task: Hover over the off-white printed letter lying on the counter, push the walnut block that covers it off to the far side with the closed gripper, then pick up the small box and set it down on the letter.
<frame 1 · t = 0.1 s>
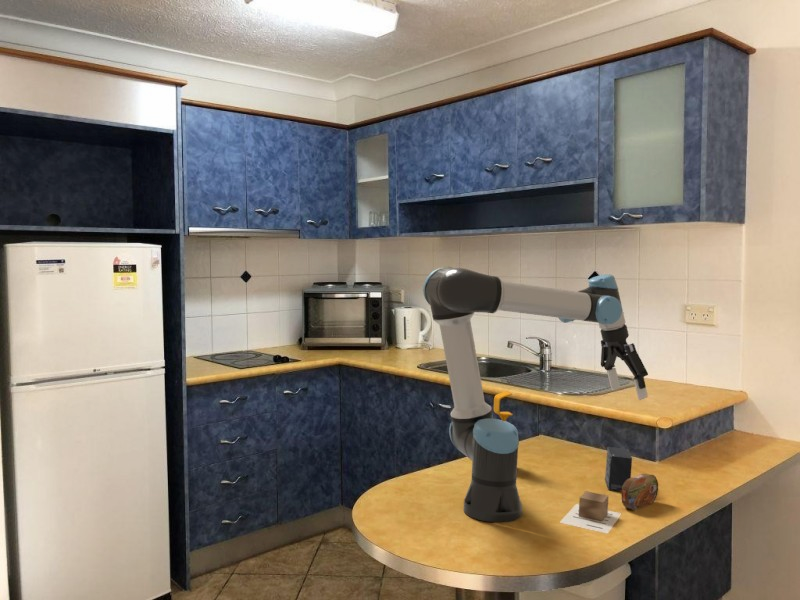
hand: (629, 393, 198), 28 cm above the table, tool tilted 20°, fingers open, 13 cm apart
walnut block: (593, 515, 174), resting on letter
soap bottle: (501, 468, 212), on the table
small box: (617, 486, 199), on the table
letter: (591, 518, 172), on the table
tin: (638, 506, 182), on the table
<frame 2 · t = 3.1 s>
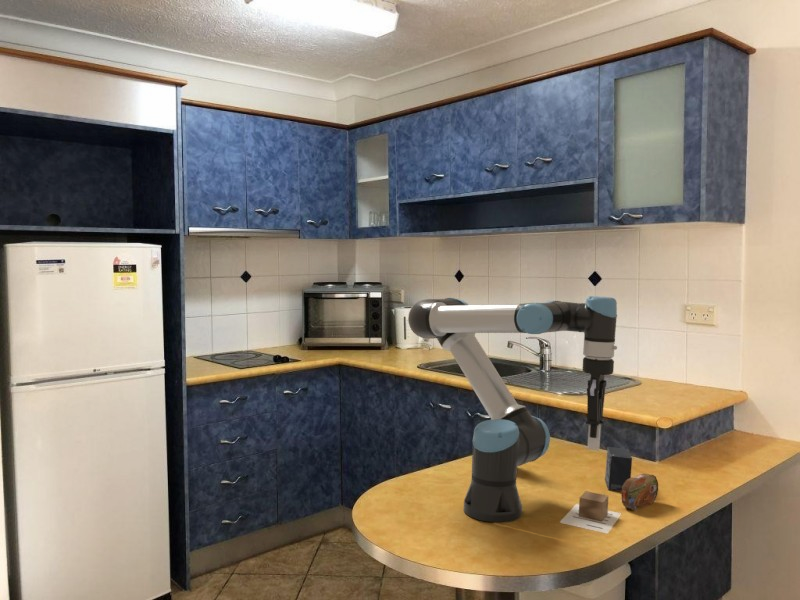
hand: (593, 449, 169), 19 cm above the table, tool pointing down, fingers closed
nothing on the table moved.
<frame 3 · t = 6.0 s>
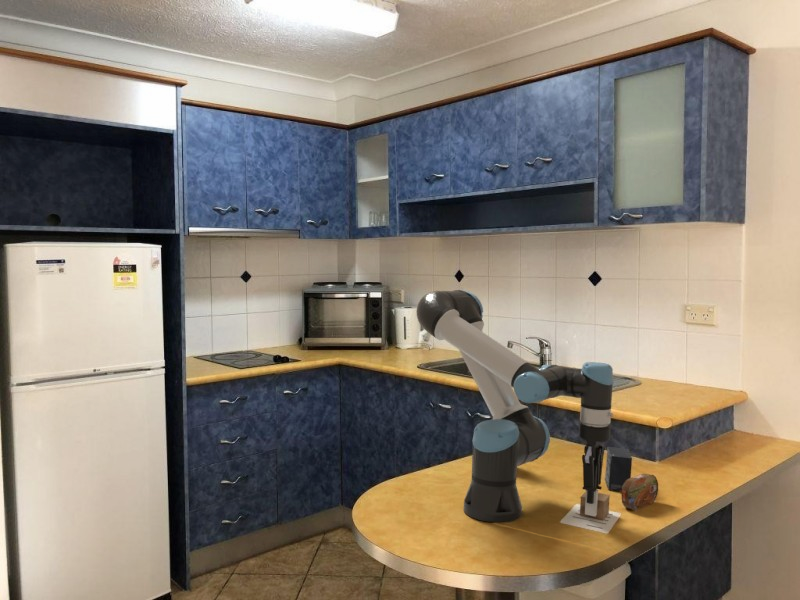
hand: (590, 514, 170), 2 cm above the table, tool pointing down, fingers closed
walnut block: (594, 514, 174), resting on letter, touching gripper
everything else where it was.
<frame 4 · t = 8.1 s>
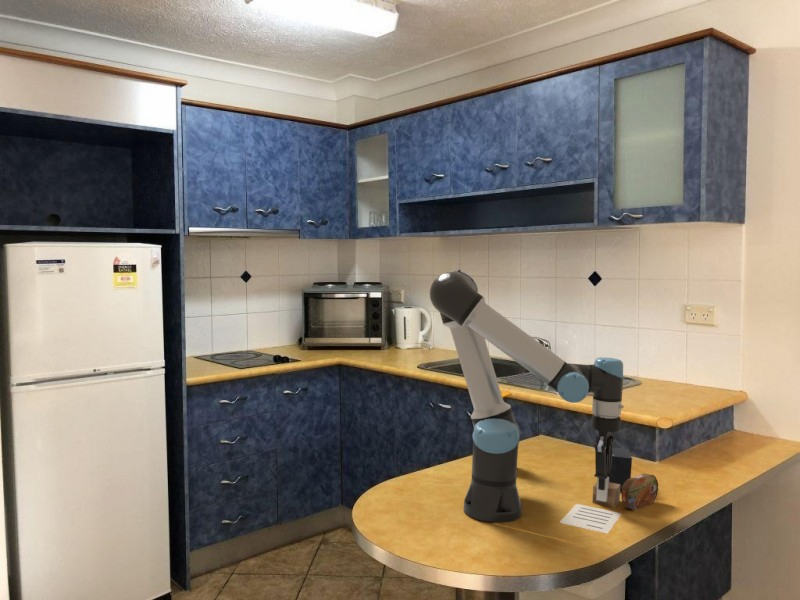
hand: (601, 500, 181), 2 cm above the table, tool pointing down, fingers closed
walnut block: (606, 502, 184), on the table, touching gripper
everything else where it was.
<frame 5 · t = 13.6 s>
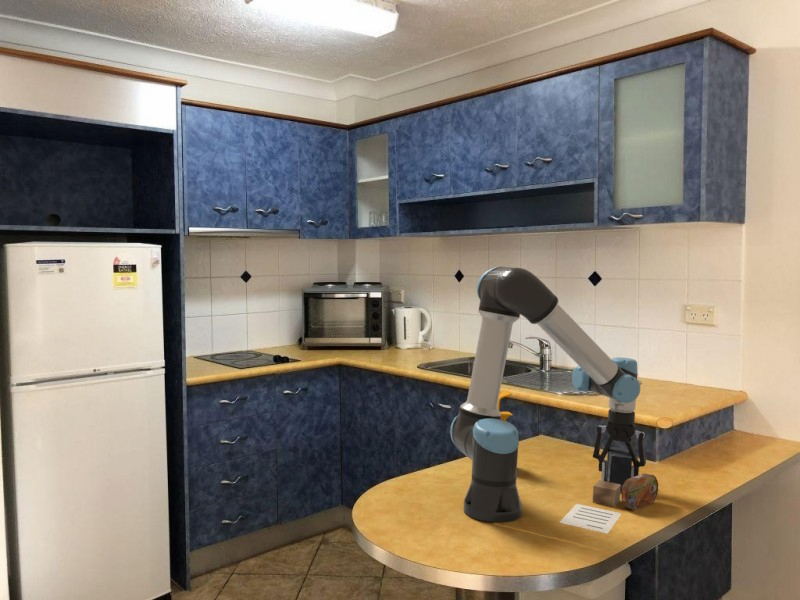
hand: (617, 484, 199), 0 cm above the table, tool pointing down, fingers closed on small box, 8 cm apart
walnut block: (606, 502, 184), on the table
small box: (617, 486, 199), on the table, touching gripper
everything else where it was.
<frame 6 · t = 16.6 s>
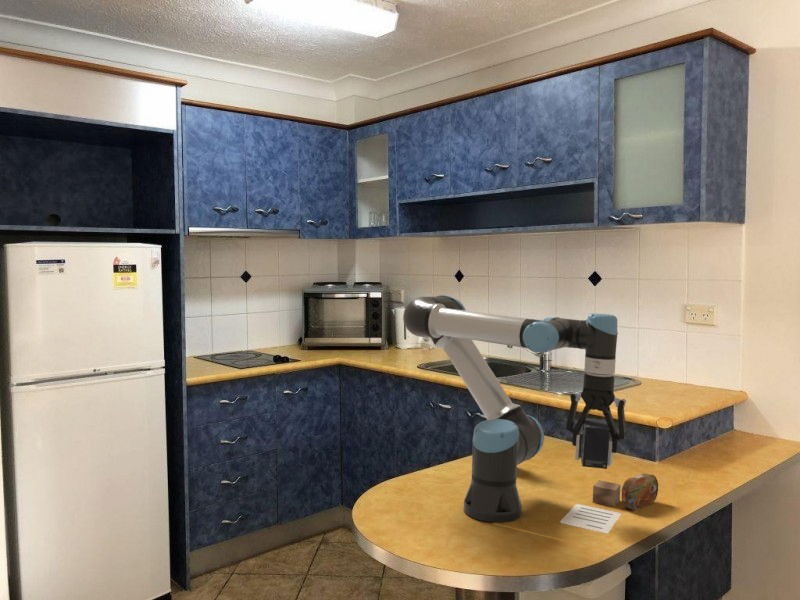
hand: (593, 461, 171), 15 cm above the table, tool pointing down, fingers closed on small box, 7 cm apart
small box: (593, 463, 171), point 14 cm above the table, touching gripper
everything else where it was.
when the fingers open (2 cm above the table, at t = 19.5 s): small box drops 1 cm, resting on letter.
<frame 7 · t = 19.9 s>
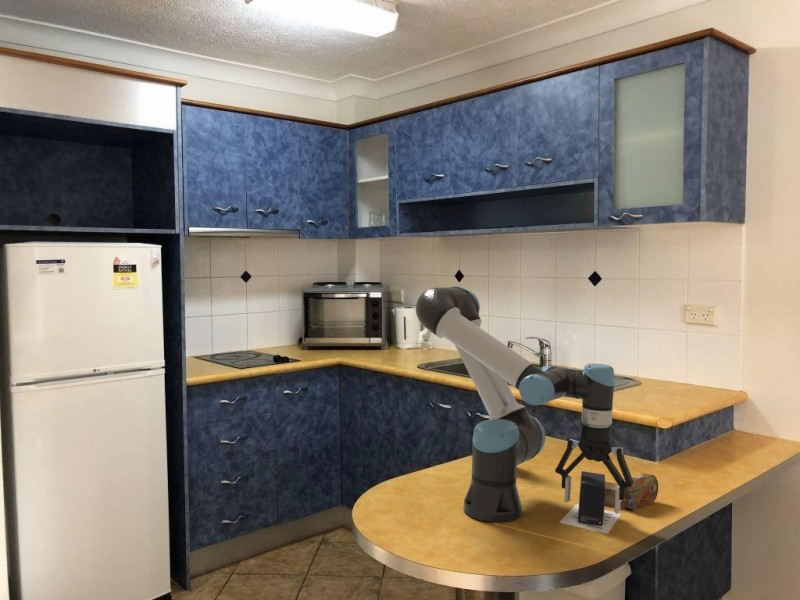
hand: (591, 506, 172), 3 cm above the table, tool pointing down, fingers open, 12 cm apart
small box: (590, 518, 172), resting on letter
everything else where it was.
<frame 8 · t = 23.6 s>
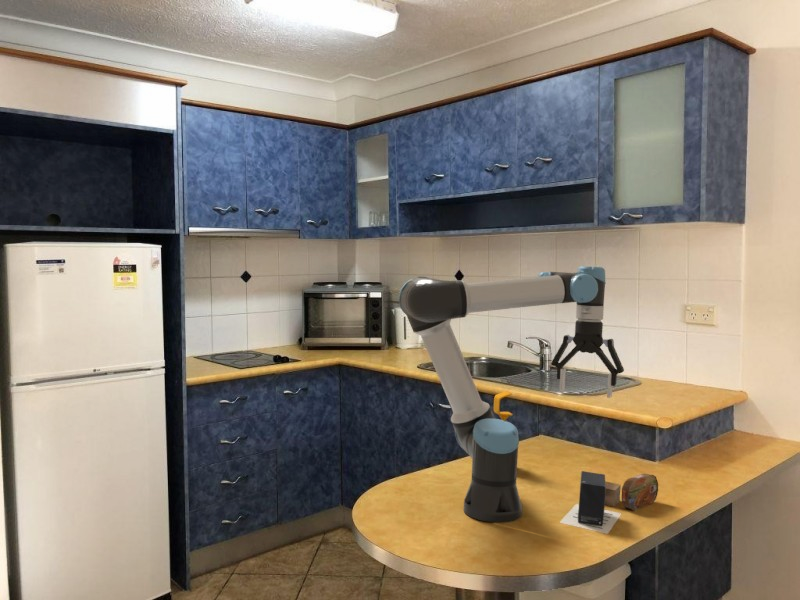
hand: (585, 393, 191), 29 cm above the table, tool pointing down, fingers open, 13 cm apart
nothing on the table moved.
at the end: small box inside the target area on the letter (0.1 cm from its centre), point 0.0 cm above the letter's base; walnut block inside the target area (12.5 cm from its centre), on the table; small box tilted 0° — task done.
